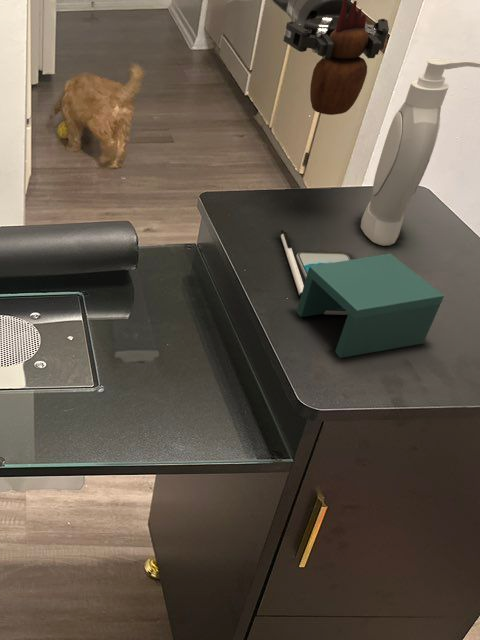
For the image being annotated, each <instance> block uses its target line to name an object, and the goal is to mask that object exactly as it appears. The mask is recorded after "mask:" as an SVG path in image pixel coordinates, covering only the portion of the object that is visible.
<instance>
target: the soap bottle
mask: <svg viewBox="0 0 480 640" xmlns="http://www.w3.org/2000/svg"><path fill="white" fill-rule="evenodd" d="M426 63H427V65H426V67H425V71H424V73H423V74H420V75H419V76H418V79H414V80H412V81H411V83H410V85H409V88H408V91H407V94H406V98H405V101H404V102H403V104H402V105H401V106H400V108H399V109H398V111H397V112H396V113H395V114H394V116H393V119H392V121H391V123H390V126H389V128H388V132H387V134H386V137H385V139H384V143H383V146H382V150H381V153H380V157H379V161H378V164H377V167H376V171H375V174H374V179H373V184H372V194H371V198H370V201H369V203H368V204H367V206H366V208H365V210H364V213H363V215H362V217H361V220H360V229H361V231H362V232H363V234H364V235H365V236H366V237H367V238H368V239H369V240H370V241H371V243H374V244H376V245H377V246H382V247H385V246H392V245H393V244H395V243H396V241H397V239H398V238H399V236H400V233H401V230H402V226H403V222H404V217H405V215H404V214H405V212H406V209H407V207H408V205H409V203H410V201H411V199H412V197H413V196H414V195H415V193H416V191H417V190H418V187H419V186H420V183H421V182H422V179H423V177H424V175H425V173H426V170H427V168H428V165H429V163H430V161H431V159H432V158H431V157H432V156H433V153H434V149H435V147H436V143H437V140H438V136H439V132H440V127H441V110H442V106H443V103H444V101H445V97H446V95H447V92H448V90H449V84H448V83H447V82H446V77H444V72H445V70H453V69H459V68H464V67H468V68H469V67H471V68H479V69H480V62H477V61H473V60H446V59H442V58H429V59H427V60H426Z"/></svg>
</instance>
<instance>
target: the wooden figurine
mask: <svg viewBox="0 0 480 640" xmlns="http://www.w3.org/2000/svg"><path fill="white" fill-rule="evenodd" d="M352 3H353V5H352V7H351V10H350V12H349V15H348V17H347V0H343V4H342V8H341V12H340V16H339V19H338V23H337V28H336V29H335V30H334V31H333V32H332V33H331V35H330V36H329V37H330V38H331V40H332V41H333V43H334V45H333V49H332V54H331V57H330V59H323V58H322V57H321V59H320V60H319V61H318V62H317V63H316V64H315V66H314V68H313V70H312V74H311V80H310V88H309V96H310V104H311V108H312V109H313V111H315V112H316V113H319V114H322V115H327V116H328V115H329V116H335V115H342V114H344V113H347V112H348V111H349V110H350V109H351V108H352V107H353V106H354V104H355V102H356V101H357V100H358V98H359V96H360V93H361V91H362V89H363V87H364V84H365V81H366V78H367V75H368V65H367V62H366V60H365V59H364V58H363V57H361V56H362V54H364V53H363V52H364V51H365V49H366V47H367V44H368V33H367V32H366V30H365V22H366V23H367V15H366V14H365V13H363V12H362V10H363V9H362V8H358V9H357V5H358V4H357V3H358V1H357V0H354V1H353V2H352ZM356 10H357V14H356V16H355V13H356ZM362 13H363V14H362Z"/></svg>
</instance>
